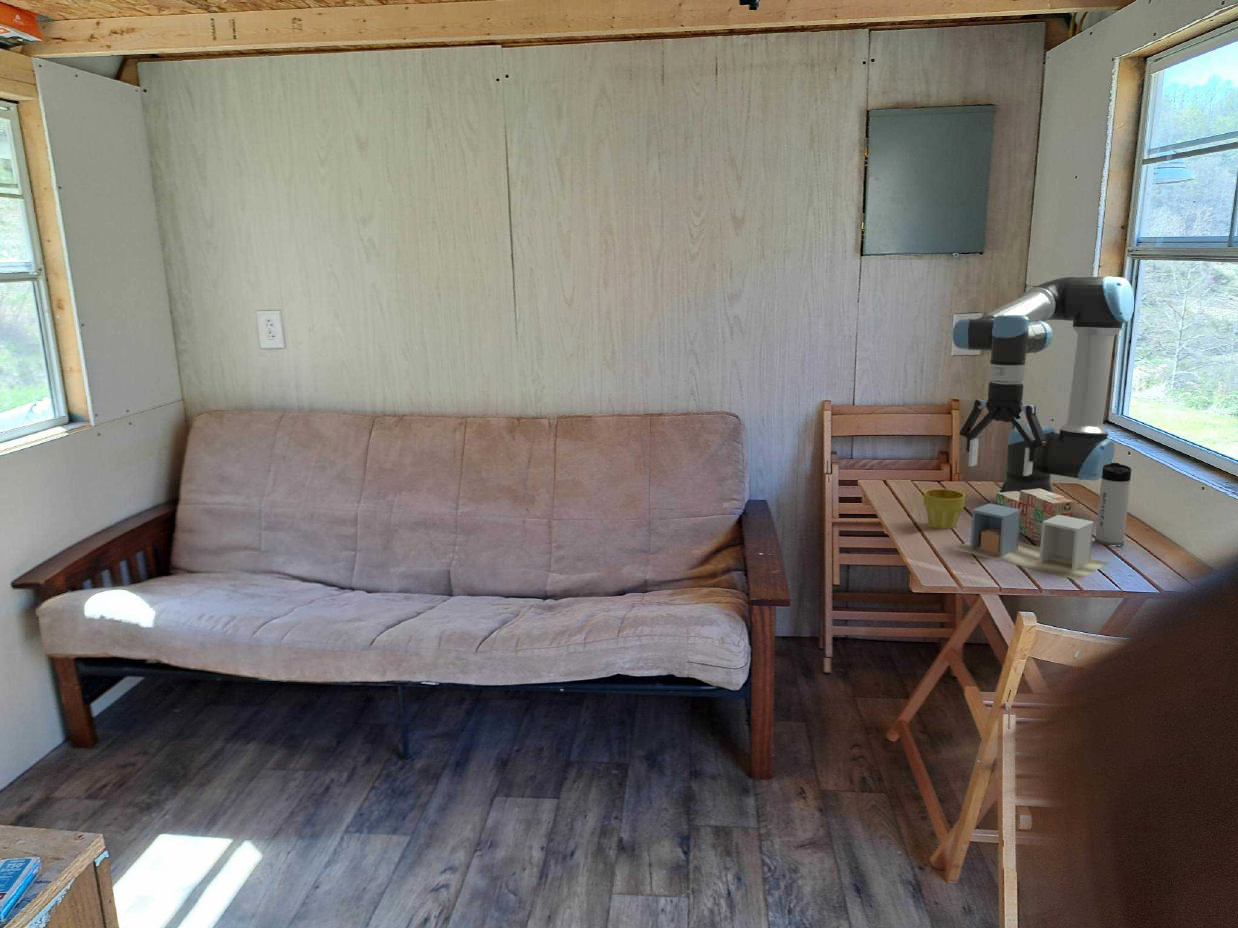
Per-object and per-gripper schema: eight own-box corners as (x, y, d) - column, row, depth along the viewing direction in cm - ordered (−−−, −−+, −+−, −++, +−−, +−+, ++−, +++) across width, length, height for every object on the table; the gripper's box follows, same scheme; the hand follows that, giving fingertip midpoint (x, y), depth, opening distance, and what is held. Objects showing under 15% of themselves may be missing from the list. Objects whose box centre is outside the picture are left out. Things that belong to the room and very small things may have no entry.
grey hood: (1054, 554, 210) (1058, 514, 208) (1089, 562, 204) (1093, 521, 202) (1038, 562, 205) (1042, 521, 203) (1074, 571, 199) (1078, 529, 197)
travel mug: (1120, 539, 222) (1128, 463, 218) (1125, 548, 216) (1134, 469, 212) (1092, 538, 224) (1100, 461, 220) (1097, 546, 218) (1105, 467, 214)
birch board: (985, 538, 226) (985, 534, 226) (1108, 566, 204) (1108, 562, 204) (952, 552, 217) (952, 548, 216) (1077, 584, 194) (1078, 580, 194)
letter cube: (989, 544, 218) (991, 526, 217) (1007, 548, 215) (1008, 530, 214) (980, 548, 216) (981, 530, 215) (998, 553, 212) (999, 534, 211)
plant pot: (966, 535, 229) (968, 499, 227) (924, 533, 232) (926, 497, 229) (959, 523, 239) (961, 488, 237) (919, 522, 241) (921, 487, 239)
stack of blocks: (993, 525, 237) (997, 481, 234) (1014, 523, 238) (1017, 479, 236) (1048, 550, 217) (1052, 502, 214) (1070, 547, 218) (1074, 500, 215)
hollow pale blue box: (986, 541, 221) (989, 503, 219) (1017, 548, 215) (1020, 509, 213) (970, 548, 216) (972, 509, 214) (1001, 556, 210) (1004, 516, 208)
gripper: (948, 379, 213) (943, 464, 218) (1052, 388, 194) (1044, 481, 199) (964, 375, 218) (959, 459, 222) (1067, 385, 199) (1059, 476, 204)
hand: (999, 470), depth 211 cm, fingers open, 13 cm apart
